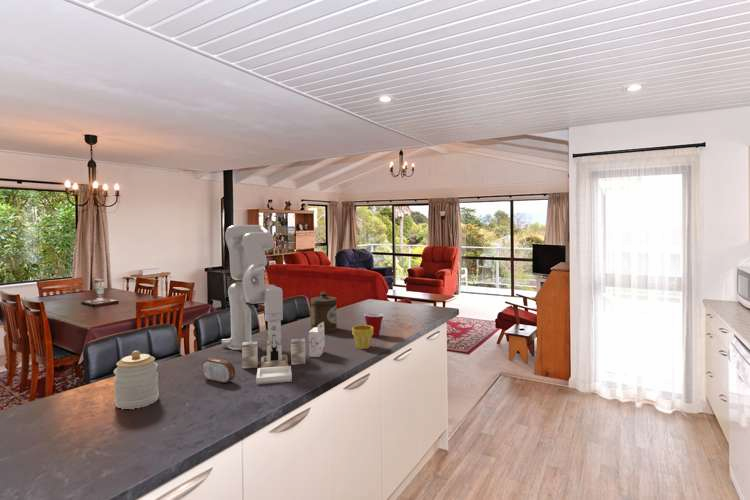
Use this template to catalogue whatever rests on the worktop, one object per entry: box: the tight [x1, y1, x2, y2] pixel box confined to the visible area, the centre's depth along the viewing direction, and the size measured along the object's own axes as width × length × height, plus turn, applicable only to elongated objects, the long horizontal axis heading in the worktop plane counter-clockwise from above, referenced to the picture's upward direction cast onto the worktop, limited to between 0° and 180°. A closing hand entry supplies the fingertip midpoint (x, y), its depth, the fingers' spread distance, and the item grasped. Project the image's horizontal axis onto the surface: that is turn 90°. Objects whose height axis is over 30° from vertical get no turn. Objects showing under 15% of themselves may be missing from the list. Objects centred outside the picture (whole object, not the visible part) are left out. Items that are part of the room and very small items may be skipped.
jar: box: [113, 350, 160, 410], centre depth 140 cm, size 13×13×18 cm
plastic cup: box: [363, 312, 385, 338], centre depth 224 cm, size 11×11×12 cm
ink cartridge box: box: [308, 322, 326, 358], centre depth 192 cm, size 9×5×15 cm, turn 168°
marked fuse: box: [266, 340, 283, 362], centre depth 178 cm, size 6×4×10 cm, turn 103°
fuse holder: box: [241, 337, 307, 369], centre depth 178 cm, size 26×9×10 cm, turn 103°
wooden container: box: [309, 291, 338, 334], centre depth 236 cm, size 15×15×22 cm
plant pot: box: [351, 324, 373, 350], centre depth 203 cm, size 10×10×10 cm
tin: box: [201, 356, 236, 384], centre depth 159 cm, size 15×3×8 cm, turn 65°
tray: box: [255, 365, 293, 385], centre depth 162 cm, size 13×11×2 cm
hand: (274, 358), depth 178 cm, fingers closed on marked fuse, 4 cm apart
